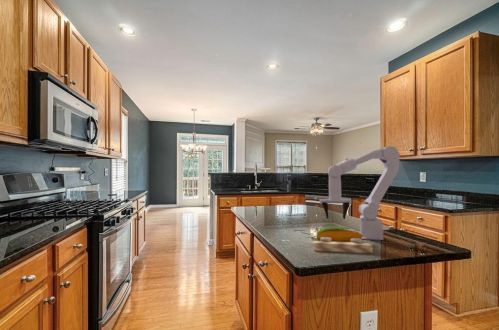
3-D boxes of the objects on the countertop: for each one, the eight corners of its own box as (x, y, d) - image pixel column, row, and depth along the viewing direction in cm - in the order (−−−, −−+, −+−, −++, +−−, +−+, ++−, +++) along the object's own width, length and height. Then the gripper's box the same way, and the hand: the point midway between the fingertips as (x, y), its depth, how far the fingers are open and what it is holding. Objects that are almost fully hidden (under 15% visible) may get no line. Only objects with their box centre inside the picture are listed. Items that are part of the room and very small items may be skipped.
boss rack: (368, 247, 103) (368, 238, 103) (373, 253, 96) (372, 243, 96) (313, 245, 107) (313, 236, 107) (314, 250, 100) (314, 240, 101)
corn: (314, 224, 113) (359, 223, 112) (314, 240, 114) (359, 240, 113) (318, 229, 106) (366, 229, 105) (318, 246, 106) (366, 246, 106)
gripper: (349, 189, 123) (349, 217, 123) (318, 189, 126) (319, 216, 126) (352, 190, 116) (352, 219, 116) (320, 190, 119) (320, 219, 119)
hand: (335, 218), depth 121 cm, fingers open, 7 cm apart
